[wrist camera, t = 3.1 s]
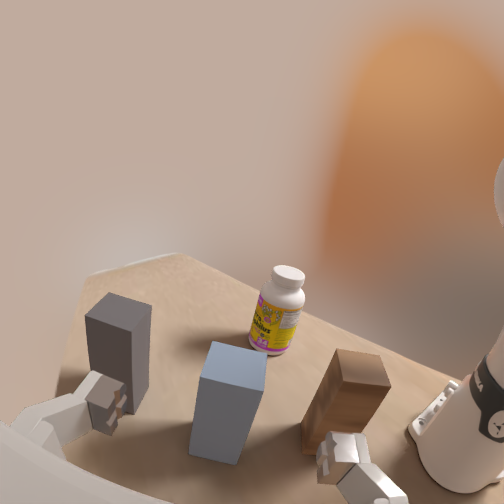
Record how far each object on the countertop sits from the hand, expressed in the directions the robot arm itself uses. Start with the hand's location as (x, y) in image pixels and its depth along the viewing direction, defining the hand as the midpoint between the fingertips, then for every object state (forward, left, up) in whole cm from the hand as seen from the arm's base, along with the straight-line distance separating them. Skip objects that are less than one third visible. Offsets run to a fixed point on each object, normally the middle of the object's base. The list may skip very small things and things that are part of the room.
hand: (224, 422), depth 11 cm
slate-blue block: (-10, -8, -19) cm, 23 cm away
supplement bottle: (-29, -18, -19) cm, 39 cm away
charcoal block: (-4, -19, -19) cm, 27 cm away
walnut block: (-20, -1, -19) cm, 27 cm away
